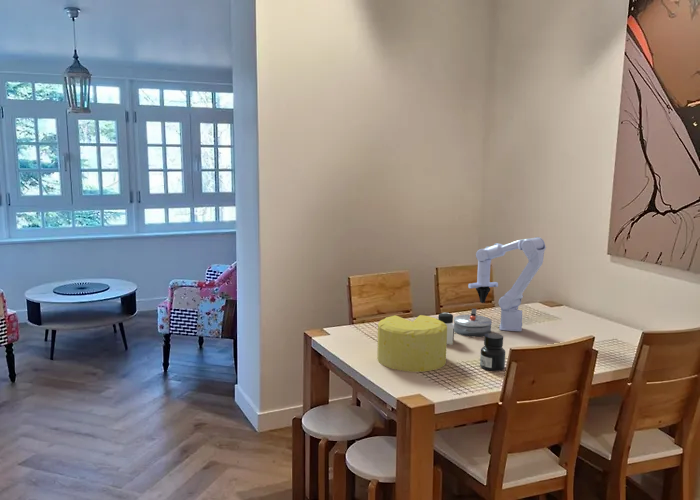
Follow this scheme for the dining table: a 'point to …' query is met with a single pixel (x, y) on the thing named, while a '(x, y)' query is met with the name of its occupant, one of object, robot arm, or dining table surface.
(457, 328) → the cooker pot
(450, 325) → the medicine bottle
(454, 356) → the dining table surface
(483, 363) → the ink bottle
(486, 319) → the cooker lid
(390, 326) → the cheese
